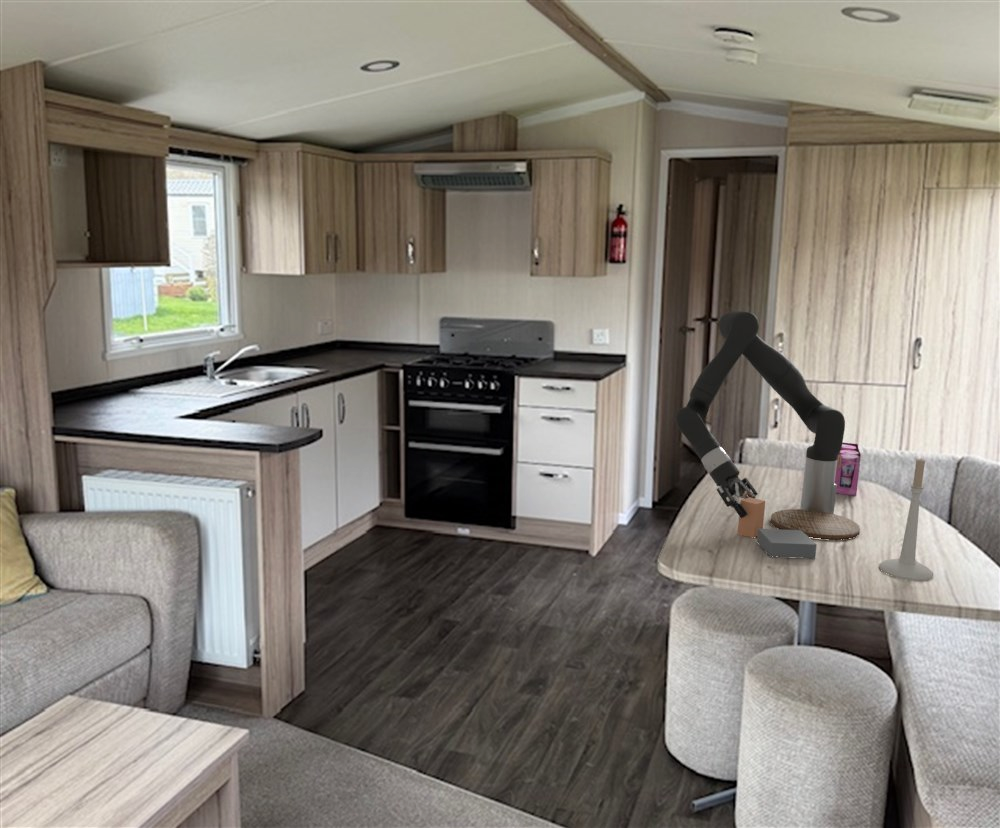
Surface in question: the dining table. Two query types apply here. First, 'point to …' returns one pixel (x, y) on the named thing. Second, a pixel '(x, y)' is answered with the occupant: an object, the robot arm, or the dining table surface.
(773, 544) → the charcoal plinth
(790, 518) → the trivet
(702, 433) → the robot arm
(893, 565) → the candlestick
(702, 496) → the dining table surface
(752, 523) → the terracotta block
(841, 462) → the gum box
